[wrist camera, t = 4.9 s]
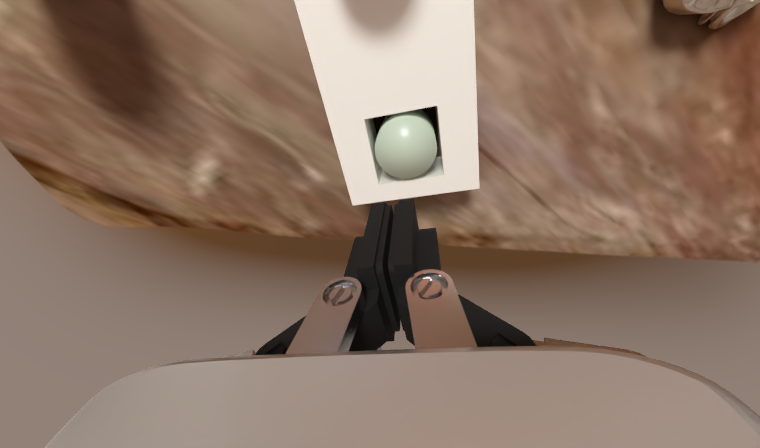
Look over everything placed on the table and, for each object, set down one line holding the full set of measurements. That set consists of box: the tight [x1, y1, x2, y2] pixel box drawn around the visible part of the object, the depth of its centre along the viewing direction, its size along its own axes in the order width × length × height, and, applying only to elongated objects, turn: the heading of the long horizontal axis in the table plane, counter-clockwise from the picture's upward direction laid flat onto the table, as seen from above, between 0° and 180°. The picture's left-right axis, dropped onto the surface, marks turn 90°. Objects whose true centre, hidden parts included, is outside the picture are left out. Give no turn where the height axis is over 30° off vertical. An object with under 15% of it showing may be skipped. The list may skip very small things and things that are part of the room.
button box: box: [294, 0, 479, 205], centre depth 20 cm, size 10×20×4 cm, turn 12°
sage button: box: [375, 109, 437, 179], centre depth 23 cm, size 4×4×4 cm
